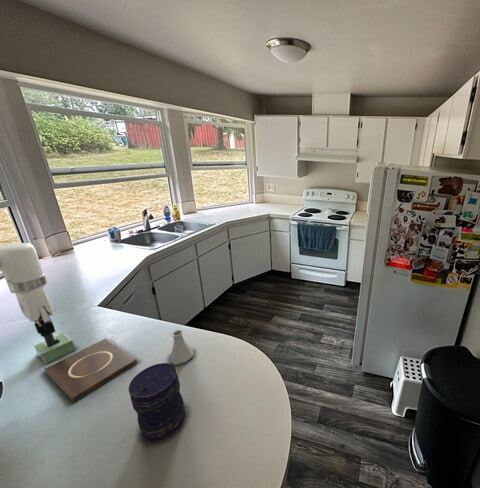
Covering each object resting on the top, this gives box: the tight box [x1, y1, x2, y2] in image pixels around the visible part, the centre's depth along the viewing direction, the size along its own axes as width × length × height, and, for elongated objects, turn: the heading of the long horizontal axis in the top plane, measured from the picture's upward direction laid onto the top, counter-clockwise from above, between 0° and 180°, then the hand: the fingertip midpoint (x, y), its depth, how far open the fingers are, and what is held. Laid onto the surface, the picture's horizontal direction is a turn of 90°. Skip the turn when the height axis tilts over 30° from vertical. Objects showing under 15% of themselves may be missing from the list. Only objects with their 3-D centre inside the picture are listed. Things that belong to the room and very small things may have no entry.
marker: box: [40, 319, 56, 347], centre depth 83 cm, size 2×2×12 cm
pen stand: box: [33, 333, 76, 365], centre depth 85 cm, size 7×7×4 cm
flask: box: [169, 329, 194, 366], centre depth 84 cm, size 7×7×10 cm
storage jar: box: [128, 362, 187, 443], centre depth 62 cm, size 10×10×15 cm
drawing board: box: [43, 337, 138, 403], centre depth 80 cm, size 16×20×2 cm
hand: (46, 332), depth 82 cm, fingers closed on marker, 2 cm apart
